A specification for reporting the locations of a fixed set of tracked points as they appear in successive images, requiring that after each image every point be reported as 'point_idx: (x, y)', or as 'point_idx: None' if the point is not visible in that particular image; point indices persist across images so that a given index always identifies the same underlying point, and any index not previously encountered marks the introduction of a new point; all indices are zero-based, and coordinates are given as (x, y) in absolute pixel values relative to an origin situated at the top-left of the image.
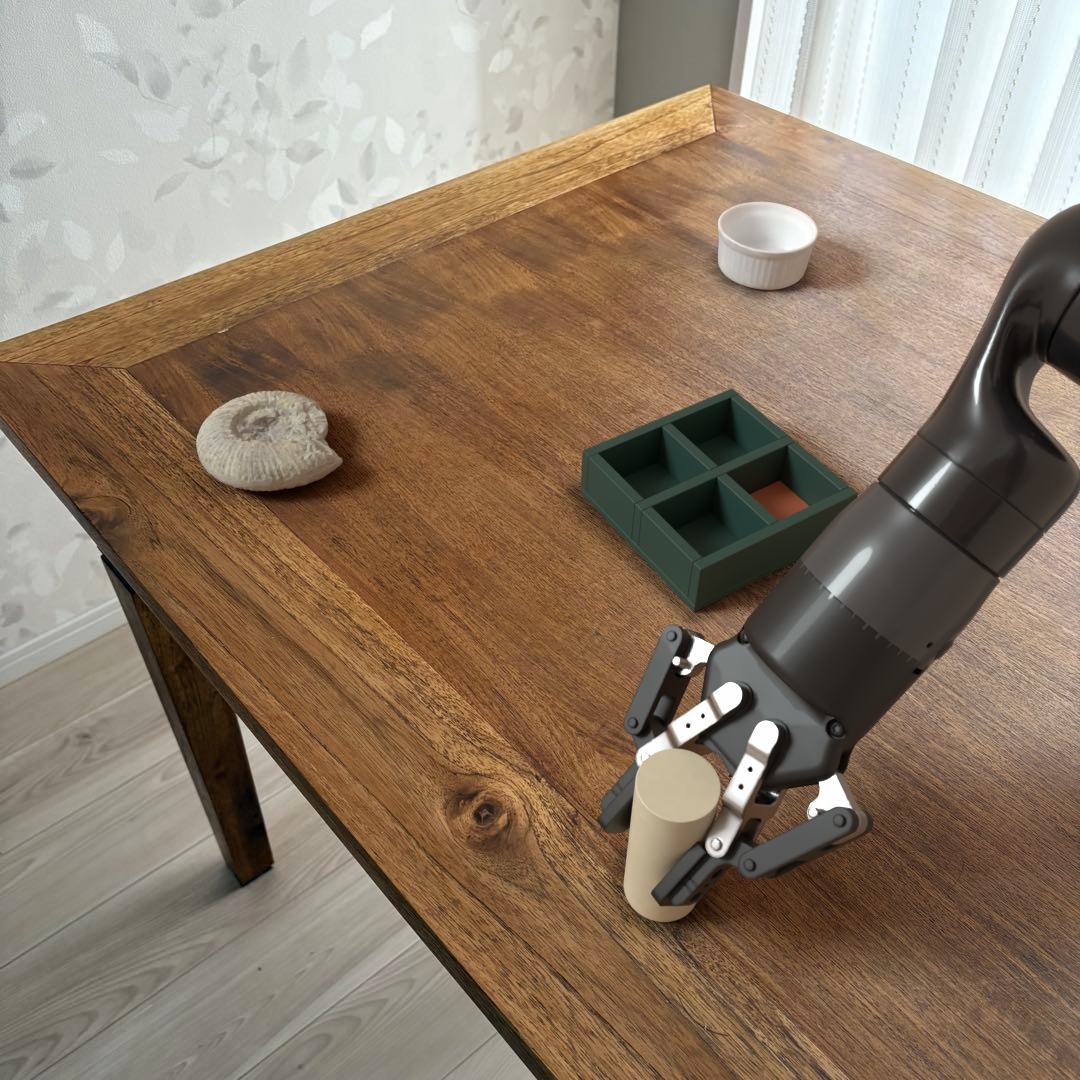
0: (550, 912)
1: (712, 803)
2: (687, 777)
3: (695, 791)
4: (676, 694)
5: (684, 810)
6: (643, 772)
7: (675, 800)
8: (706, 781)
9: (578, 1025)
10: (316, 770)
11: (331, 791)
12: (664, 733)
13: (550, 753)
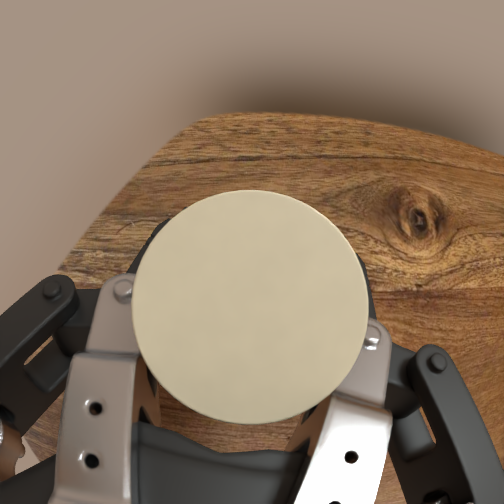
0: (307, 193)
1: (143, 333)
2: (245, 347)
3: (197, 329)
4: (410, 467)
5: (178, 258)
6: (343, 263)
7: (217, 265)
8: (200, 376)
9: (211, 143)
10: (493, 158)
11: (479, 152)
12: (381, 398)
13: (428, 314)
